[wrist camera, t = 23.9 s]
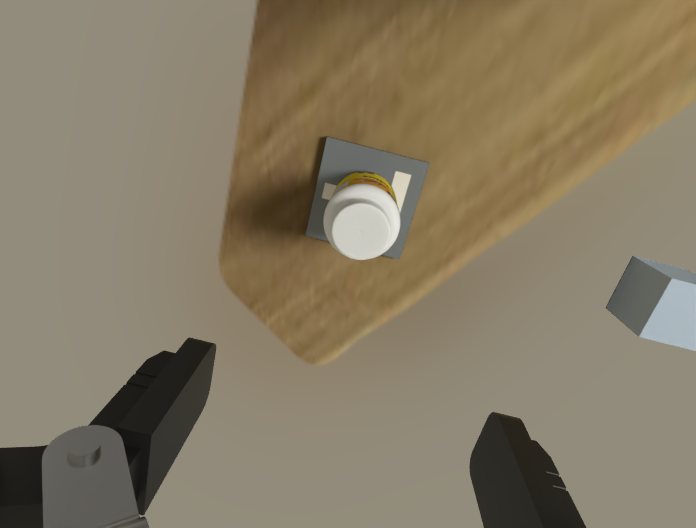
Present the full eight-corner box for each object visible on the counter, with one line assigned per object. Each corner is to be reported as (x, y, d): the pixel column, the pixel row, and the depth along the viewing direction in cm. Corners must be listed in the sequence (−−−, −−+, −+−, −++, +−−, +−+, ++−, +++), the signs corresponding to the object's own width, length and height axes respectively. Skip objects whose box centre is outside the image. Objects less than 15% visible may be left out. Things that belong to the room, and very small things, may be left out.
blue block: (632, 255, 39) (672, 278, 34) (689, 270, 39) (736, 294, 34) (605, 307, 41) (638, 336, 36) (659, 321, 41) (700, 352, 36)
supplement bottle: (408, 201, 37) (420, 234, 28) (363, 243, 39) (360, 287, 29) (364, 155, 36) (361, 172, 27) (319, 199, 38) (301, 231, 28)
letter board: (327, 136, 37) (326, 136, 36) (428, 162, 37) (429, 163, 36) (306, 233, 40) (305, 235, 39) (399, 256, 40) (399, 259, 39)
